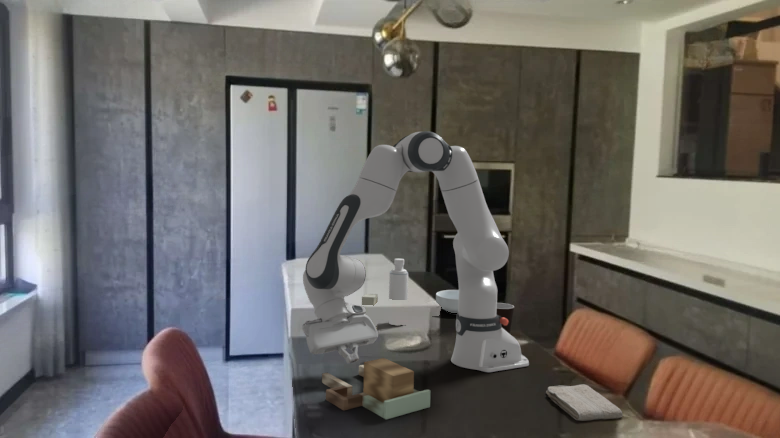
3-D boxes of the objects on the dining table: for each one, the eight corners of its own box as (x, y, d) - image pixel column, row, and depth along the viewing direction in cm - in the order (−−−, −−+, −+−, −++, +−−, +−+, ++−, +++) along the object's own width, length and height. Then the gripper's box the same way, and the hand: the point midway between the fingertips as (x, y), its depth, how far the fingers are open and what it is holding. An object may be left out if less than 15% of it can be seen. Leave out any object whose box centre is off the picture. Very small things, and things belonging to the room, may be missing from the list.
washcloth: (584, 392, 162) (585, 380, 162) (625, 420, 145) (625, 407, 145) (542, 395, 160) (542, 383, 159) (578, 424, 142) (579, 411, 142)
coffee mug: (515, 338, 209) (516, 309, 208) (489, 337, 209) (490, 308, 208) (509, 329, 221) (510, 301, 220) (484, 328, 221) (485, 300, 220)
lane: (304, 386, 160) (304, 377, 160) (378, 370, 174) (378, 361, 174) (364, 423, 139) (364, 412, 139) (443, 401, 153) (443, 391, 153)
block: (363, 397, 154) (364, 362, 153) (383, 392, 158) (383, 357, 157) (392, 414, 145) (393, 376, 144) (413, 408, 148) (414, 371, 147)
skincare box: (373, 333, 212) (374, 297, 211) (360, 332, 213) (361, 296, 212) (377, 328, 218) (378, 293, 217) (365, 327, 219) (365, 293, 218)
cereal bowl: (433, 315, 238) (433, 297, 237) (437, 305, 254) (437, 288, 254) (478, 318, 235) (479, 300, 234) (479, 308, 251) (480, 291, 251)
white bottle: (390, 326, 221) (391, 256, 218) (387, 321, 227) (388, 253, 225) (408, 326, 222) (410, 256, 219) (405, 321, 228) (407, 253, 226)
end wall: (383, 418, 142) (383, 400, 142) (427, 405, 150) (427, 389, 149) (386, 419, 141) (386, 402, 141) (430, 407, 149) (430, 390, 149)
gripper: (304, 315, 162) (323, 362, 155) (369, 305, 174) (389, 349, 167) (295, 328, 166) (314, 375, 159) (360, 318, 178) (379, 360, 171)
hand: (353, 361), depth 163 cm, fingers closed
